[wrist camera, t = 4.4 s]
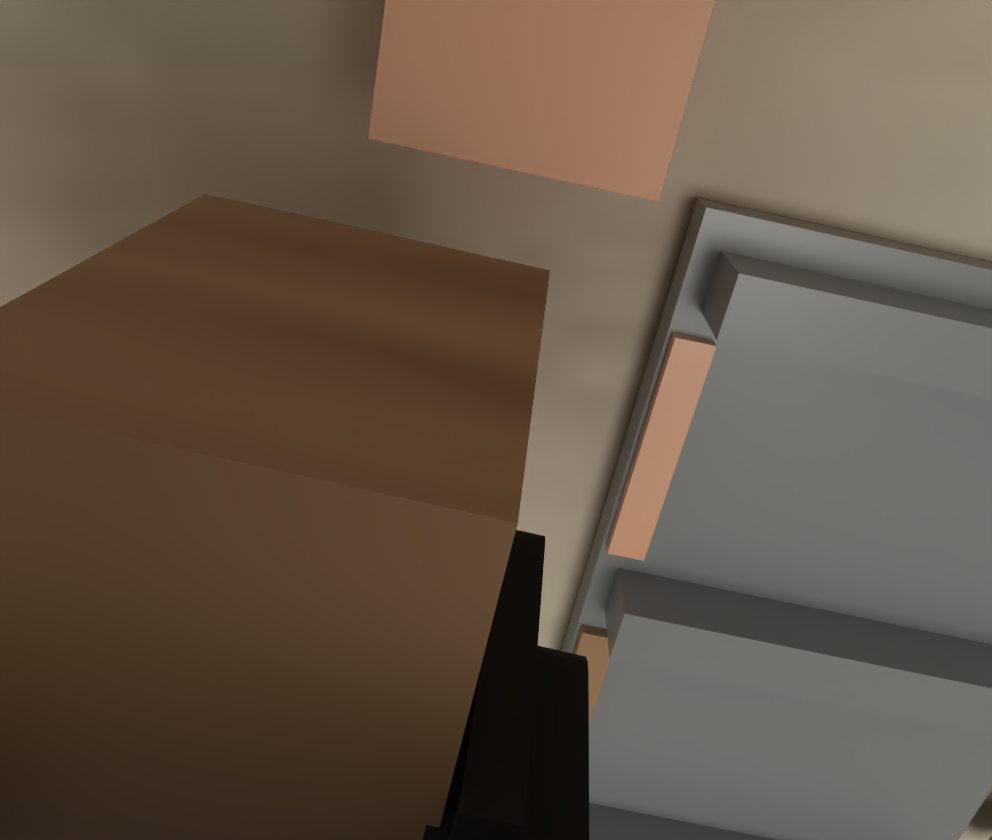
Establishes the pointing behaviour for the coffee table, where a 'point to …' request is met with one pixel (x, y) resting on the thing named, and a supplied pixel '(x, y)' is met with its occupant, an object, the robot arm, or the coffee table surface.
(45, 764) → the walnut bar
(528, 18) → the terracotta bar
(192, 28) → the coffee table surface
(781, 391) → the slot rack
